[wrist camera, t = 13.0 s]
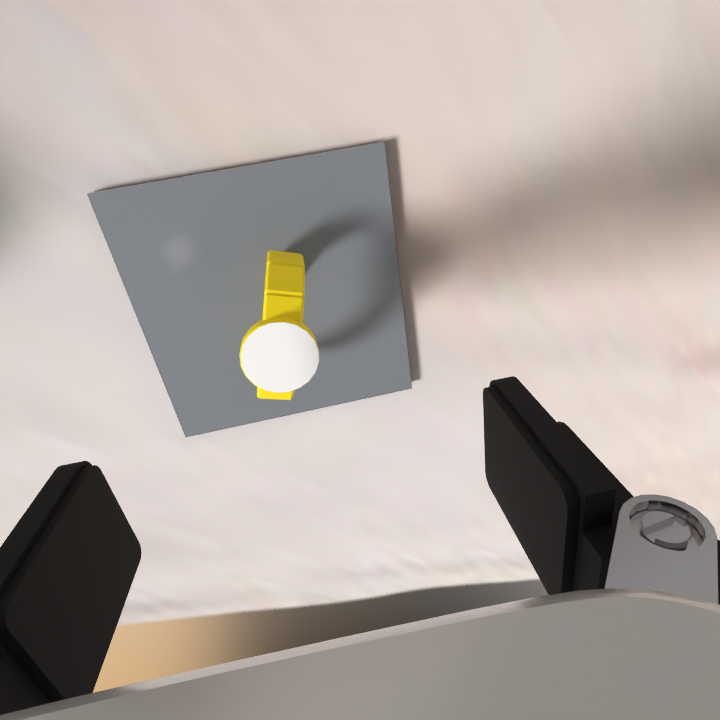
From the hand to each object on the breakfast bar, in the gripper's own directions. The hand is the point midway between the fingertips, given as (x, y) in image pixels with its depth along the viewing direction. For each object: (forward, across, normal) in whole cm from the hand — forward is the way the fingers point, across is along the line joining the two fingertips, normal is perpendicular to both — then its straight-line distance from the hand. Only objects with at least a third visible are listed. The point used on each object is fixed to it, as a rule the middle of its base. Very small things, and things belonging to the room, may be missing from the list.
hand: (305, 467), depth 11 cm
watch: (+12, +1, 0) cm, 12 cm away
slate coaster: (+12, +1, 0) cm, 12 cm away
